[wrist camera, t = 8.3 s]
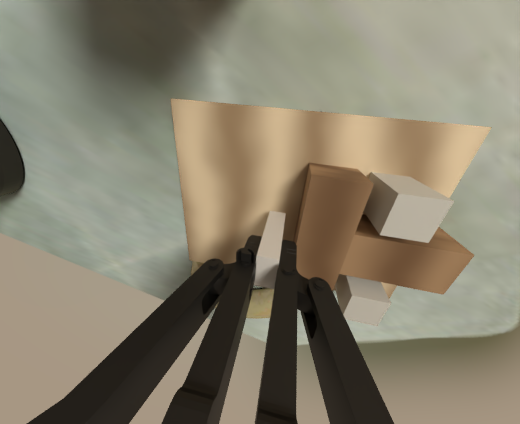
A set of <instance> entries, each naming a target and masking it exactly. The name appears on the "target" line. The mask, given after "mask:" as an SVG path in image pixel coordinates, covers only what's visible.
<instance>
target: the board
mask: <svg viewBox="0 0 520 424" xmlns="http://www.w3.org/2000/svg"><path fill="white" fill-rule="evenodd" d="M171 107H172V115H173V124H174V132H175V140H176V149H177V157H178V166H179V174H180V183H181V191H182V200H183V208H184V216H185V225H186V233H187V242H188V250H189V259H190V260H191V261H196V262H200V263H205V262H206V261H207V260H210V259H215V258H216V259H220V260H221V261H223V263H224V264H229V263H234V262H236V252H237V250H238V249H240V248H244V247H245V244H246V242H247V239H248V238H249V237H250V236H251V235H256V236H263V233H264V229H265V226H266V223H267V219H268V216H269V213H270V211H276V212H282V213H286V215H285V223H284V230H283V238H282V239H283V240H289V241H293V238H294V233H295V228H296V223H297V219H298V214H299V209H300V204H301V199H302V194H303V190H304V185H305V180H306V175H307V170H308V165H309V163H316V164H324V165H331V166H339V167H347V168H355V169H358V170H359V171H360V172H362V173H363V174H364V175H365V176H366V177H367V178H368V179H369V176H370V174H371V172H376V173H384V174H392V175H400V176H408V177H411V178H413V179H415V180H417V181H419V182H421V183H422V184H424V185H426V186H428V187H430V188H431V189H433V190H435V191H437V192H439V193H440V194H442V195H444V196H446V197H448V198H450V196H451V194H452V193H453V191H454V189H455V188H456V186H457V184H458V183H459V181H460V179H461V178H462V176H463V174H464V173H465V171H466V169H467V168H468V166H469V164H470V163H471V161H472V159H473V158H474V156H475V154H476V153H477V151H478V149H479V148H480V146H481V144H482V143H483V141H484V139H485V138H486V136H487V134H488V133H489V131H490V129H491V128H492V127H483V126H472V125H460V124H449V123H438V122H427V121H416V120H405V119H394V118H382V117H371V116H360V115H349V114H338V113H327V112H315V111H304V110H293V109H282V108H271V107H260V106H249V105H237V104H226V103H215V102H204V101H193V100H182V99H171ZM363 214H365V212H364V211H363ZM365 215H366V214H365ZM381 284H382V286H383V288H384V290H385V292H386V294H387V296H388V298H390V296H391V295H392V293H393V291H394V290H395V288H396V286H397V285H393V284H388V283H383V282H381ZM333 290H336V288H335V286H334V289H333Z"/></svg>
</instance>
